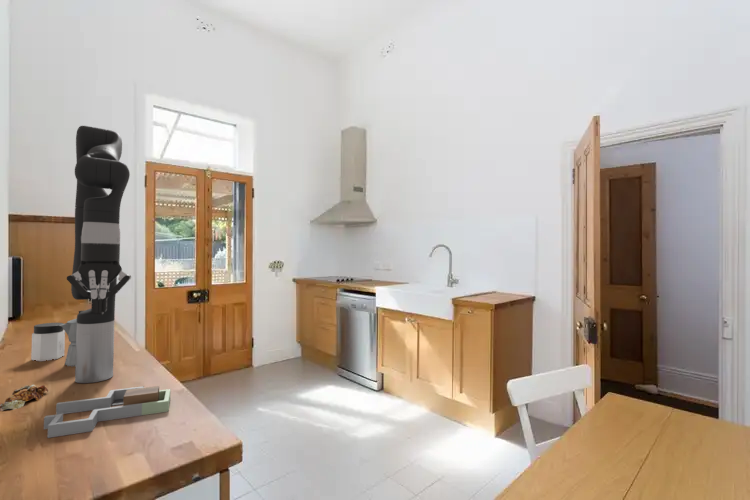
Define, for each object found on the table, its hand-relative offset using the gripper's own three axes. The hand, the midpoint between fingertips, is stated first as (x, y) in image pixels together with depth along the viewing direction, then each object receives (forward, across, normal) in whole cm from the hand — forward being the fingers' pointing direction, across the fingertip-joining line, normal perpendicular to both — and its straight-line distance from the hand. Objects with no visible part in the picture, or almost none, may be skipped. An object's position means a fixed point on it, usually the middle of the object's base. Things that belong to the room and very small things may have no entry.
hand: (99, 314), depth 90 cm
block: (+24, -10, +2) cm, 26 cm away
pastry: (+24, +18, -15) cm, 34 cm away
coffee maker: (+24, +14, -51) cm, 58 cm away
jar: (+25, +27, -62) cm, 72 cm away
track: (+23, -4, +2) cm, 24 cm away
